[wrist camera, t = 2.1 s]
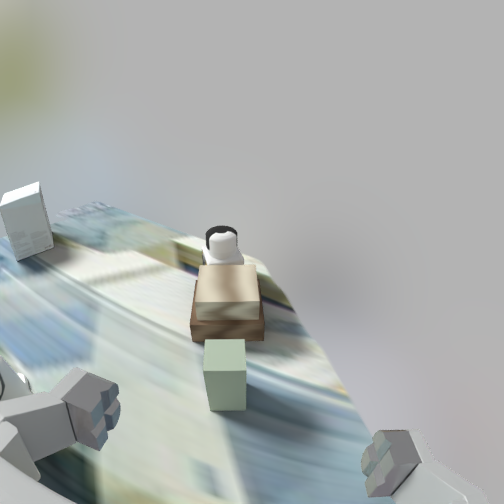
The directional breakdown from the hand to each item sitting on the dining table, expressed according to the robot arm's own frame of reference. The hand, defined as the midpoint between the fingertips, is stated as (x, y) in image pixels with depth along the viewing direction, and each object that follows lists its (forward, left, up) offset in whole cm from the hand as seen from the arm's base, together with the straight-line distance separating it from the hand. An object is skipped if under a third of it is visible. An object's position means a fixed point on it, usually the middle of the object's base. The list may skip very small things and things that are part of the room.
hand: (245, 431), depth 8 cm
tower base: (-2, +37, -31) cm, 48 cm away
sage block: (-2, +20, -31) cm, 36 cm away
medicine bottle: (-3, +48, -31) cm, 57 cm away
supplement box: (-62, +65, -31) cm, 95 cm away
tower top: (-1, +37, -26) cm, 45 cm away
